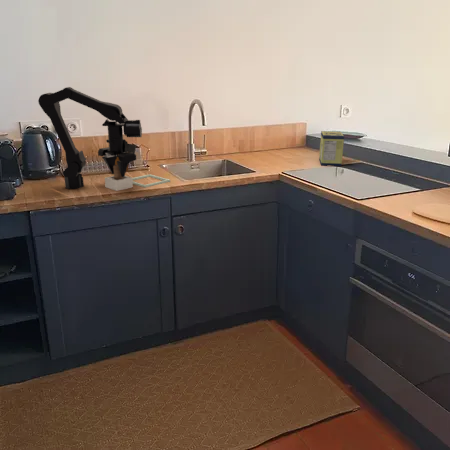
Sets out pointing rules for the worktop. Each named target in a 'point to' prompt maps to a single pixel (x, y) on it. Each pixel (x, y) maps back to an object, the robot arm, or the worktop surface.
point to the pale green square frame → (151, 183)
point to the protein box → (331, 148)
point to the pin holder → (118, 183)
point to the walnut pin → (117, 173)
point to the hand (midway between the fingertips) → (118, 175)
